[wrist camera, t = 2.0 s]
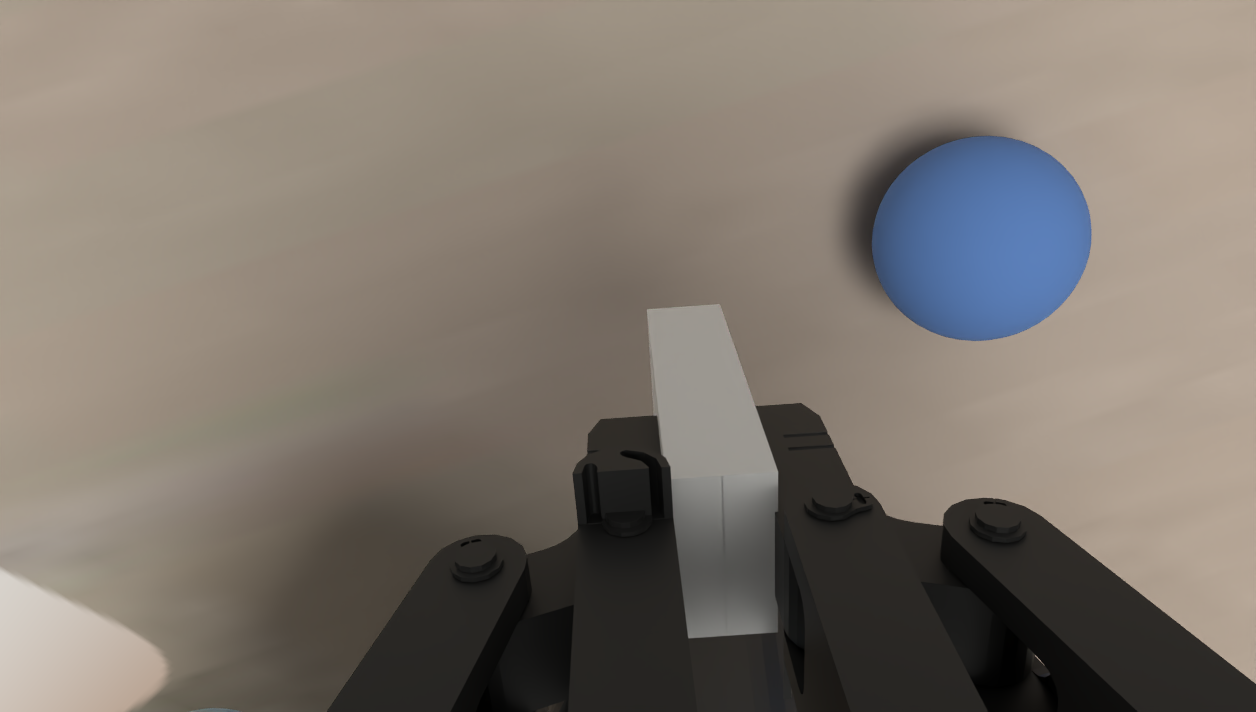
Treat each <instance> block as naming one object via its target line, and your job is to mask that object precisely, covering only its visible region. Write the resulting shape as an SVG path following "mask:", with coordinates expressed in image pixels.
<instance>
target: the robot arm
mask: <svg viewBox="0 0 1256 712" xmlns="http://www.w3.org/2000/svg"><path fill="white" fill-rule="evenodd" d="M647 320H648V336H649V352H650V367H651V383H652V399H653V414H654V416H642V417H627V418H613V419H601V420H600V421H599V422H598V423H597V424H596V426H595V427H594V428H593V429H592V430H591V432H590V433H589V434H588V447H587V453H588V454H587V456H586V457H585V458H584V459H582V460H581V461H580V462H579V463H577V465H576V467H575V469H574V472H573V481H574V490H575V499H576V509H577V518H578V530H577V531H576V532H575V533H574V534H573V535H572V536H570V537H569V538H568V539H567V540H565V541H563V542H561V543H559V544H558V545H556V546H553V547H550V548H548V549H545V550H542V551H538V552H535V553H531V554H528V555H526V553H525V551H524V548H523V546H522V545H520V544H519V543H517V542H516V541H514V540H513V539H511V538H507V537H503V536H498V535H478V536H473V537H469V538H465V539H462V540H458V541H456V542H454V543H452V544H451V545H449V546H447V547H445V548H443V549H442V550H441V551H439V552H438V553H437V554H436V555H435V556H434V557H433V558H432V559H431V560H430V562H429V563H428V565H427V566H426V568H425V569H424V571H423V572H422V574H421V575H420V576H419V578H418V579H417V581H416V582H415V584H414V585H413V587H412V588H411V590H410V591H409V593H408V594H407V595H406V597H405V598H404V600H403V601H402V603H401V604H400V606H399V607H398V609H397V610H396V611H395V613H394V614H393V616H392V617H391V619H390V620H389V622H388V623H387V625H386V626H385V628H384V629H383V630H382V632H381V633H380V635H379V636H378V638H377V639H376V641H375V642H374V644H373V645H372V647H371V648H370V649H369V651H368V652H367V654H366V655H365V657H364V658H363V660H362V661H361V663H360V664H359V665H358V667H357V668H356V670H355V671H354V673H353V674H352V676H351V677H350V679H349V680H348V682H347V683H346V684H345V686H344V687H343V689H342V690H341V692H340V693H339V695H338V696H337V698H336V699H335V701H334V702H333V703H332V705H331V706H330V708H329V709H328V711H327V712H1256V684H1255V683H1254V682H1253V681H1251V680H1250V679H1249V678H1247V677H1246V676H1245V675H1244V674H1242V673H1241V672H1240V671H1238V670H1237V669H1236V668H1235V667H1233V666H1232V665H1231V664H1230V663H1228V662H1227V661H1226V660H1224V659H1223V658H1222V657H1221V656H1219V655H1218V654H1217V653H1215V652H1214V651H1213V650H1212V649H1210V648H1209V647H1208V646H1207V645H1205V644H1204V643H1203V642H1201V641H1200V640H1199V639H1198V638H1196V637H1195V636H1194V635H1192V634H1191V633H1190V632H1189V631H1187V630H1186V629H1185V628H1184V627H1182V626H1181V625H1180V624H1178V623H1177V622H1176V621H1175V620H1173V619H1172V618H1171V617H1169V616H1168V615H1167V614H1166V613H1164V612H1163V611H1162V610H1161V609H1159V608H1158V607H1157V606H1155V605H1154V604H1153V603H1152V602H1150V601H1149V600H1148V599H1146V598H1145V597H1144V596H1143V595H1141V594H1140V593H1139V592H1138V591H1136V590H1135V589H1134V588H1132V587H1131V586H1130V585H1129V584H1127V583H1126V582H1125V581H1123V580H1122V579H1121V578H1120V577H1118V576H1117V575H1116V574H1115V573H1113V572H1112V571H1111V570H1109V569H1108V568H1107V567H1106V566H1104V565H1103V564H1102V563H1100V562H1099V561H1098V560H1097V559H1095V558H1094V557H1093V556H1091V555H1090V554H1089V553H1088V552H1086V551H1085V550H1084V549H1083V548H1081V547H1080V546H1079V545H1077V544H1076V543H1075V542H1074V541H1072V540H1071V539H1070V538H1068V537H1067V536H1066V535H1065V534H1063V533H1062V532H1061V531H1060V530H1058V529H1057V528H1056V527H1054V526H1053V525H1052V524H1051V523H1049V522H1048V521H1047V520H1045V519H1044V518H1043V517H1042V516H1040V515H1038V514H1037V513H1035V512H1033V511H1032V510H1030V509H1028V508H1026V507H1025V506H1022V505H1018V504H1015V503H1012V502H1009V501H1006V500H1001V499H993V498H978V499H967V500H964V501H961V502H959V503H956V504H954V505H952V506H951V507H950V508H949V509H948V510H947V511H946V512H945V513H944V519H943V526H938V525H930V524H923V523H915V522H909V521H904V520H899V519H895V518H893V517H890V516H887V515H886V514H885V512H884V510H883V508H882V506H881V504H880V503H879V502H878V501H877V499H876V498H875V497H874V496H873V495H872V494H871V493H869V492H867V491H865V490H863V489H861V488H860V487H858V486H854V485H853V483H852V481H851V479H850V477H849V475H848V473H847V471H846V469H845V467H844V465H843V463H842V461H841V459H840V457H839V454H838V452H837V450H836V448H834V444H833V442H832V440H831V438H830V436H829V435H828V434H827V430H826V428H825V426H824V424H823V422H822V420H821V418H820V416H819V415H817V414H816V413H815V412H813V411H812V410H810V409H809V408H807V407H806V406H804V405H803V404H802V403H797V404H783V405H768V406H755V404H754V401H753V398H752V395H751V392H750V389H749V386H748V384H747V381H746V378H745V375H744V372H743V369H742V366H741V363H740V360H739V358H738V355H737V352H736V349H735V346H734V343H733V340H732V337H731V335H730V332H729V329H728V326H727V323H726V320H725V317H724V314H723V311H722V309H721V306H720V304H712V305H698V306H684V307H670V308H656V309H647ZM1035 655H1036V656H1037V657H1038V658H1039V659H1040V660H1041V661H1042V663H1043V664H1044V665H1045V666H1044V665H1043V664H1042V663H1041V662H1040V661H1039V660H1038V659H1037V658H1036V657H1035ZM548 706H549V708H548ZM190 712H241V711H237V710H232V709H226V708H206V709H199V710H194V711H190Z"/></svg>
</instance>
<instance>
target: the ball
mask: <svg viewBox="0 0 1256 712" xmlns="http://www.w3.org/2000/svg"><path fill="white" fill-rule="evenodd" d="M1090 247H1091V221H1090V214H1089V210H1088V206H1087V203H1086V200H1085V198H1084V196H1083V193H1082V191H1081V189H1080V187H1079V186H1078V184H1077V182H1076V181H1075V179H1074V178H1073V176H1072V175H1071V174H1070V173H1069V172H1068V171H1067V170H1066V168H1065V167H1064V166H1063V165H1062V164H1061V163H1059V162H1058V161H1057V160H1056V159H1055V158H1053V157H1052V156H1051V155H1049V154H1048V153H1046V152H1044V151H1042V150H1041V149H1039V148H1037V147H1035V146H1033V145H1031V144H1028V143H1025V142H1023V141H1019V140H1015V139H1010V138H1006V137H997V136H977V137H969V138H964V139H958V140H955V141H952V142H949V143H946V144H943V145H941V146H939V147H937V148H934V149H932V150H931V151H929V152H927V153H926V154H924V155H922V156H921V157H919V158H918V159H916V160H915V161H914V162H913V163H911V164H910V165H909V166H908V167H907V168H906V169H905V170H904V171H903V172H902V173H900V174H899V176H898V177H897V178H896V179H895V181H894V182H893V183H892V184H891V186H890V187H889V189H888V191H887V192H886V194H885V195H884V198H883V200H882V202H881V204H880V206H879V209H878V212H877V215H876V218H875V223H874V228H873V234H872V254H873V260H874V265H875V269H876V272H877V275H878V278H879V281H880V283H881V285H882V287H883V289H884V290H885V292H886V294H887V295H888V297H889V298H890V299H891V301H892V302H893V303H894V305H895V306H896V307H897V308H898V309H899V310H900V311H901V312H902V313H903V314H904V315H905V316H907V317H908V318H909V319H911V320H912V321H913V322H915V323H916V324H918V325H919V326H921V327H923V328H925V329H927V330H929V331H931V332H934V333H936V334H939V335H942V336H945V337H949V338H954V339H959V340H970V341H983V340H992V339H998V338H1003V337H1007V336H1011V335H1014V334H1017V333H1020V332H1022V331H1024V330H1027V329H1029V328H1031V327H1032V326H1034V325H1036V324H1038V323H1039V322H1041V321H1042V320H1044V319H1045V318H1047V317H1048V316H1049V315H1051V314H1052V313H1053V312H1054V311H1055V310H1056V309H1057V308H1059V307H1060V305H1061V304H1062V303H1063V302H1064V301H1065V300H1066V299H1067V298H1068V296H1069V295H1070V294H1071V292H1072V291H1073V290H1074V288H1075V287H1076V285H1077V283H1078V281H1079V280H1080V278H1081V276H1082V274H1083V271H1084V269H1085V267H1086V264H1087V260H1088V257H1089V253H1090Z"/></svg>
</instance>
